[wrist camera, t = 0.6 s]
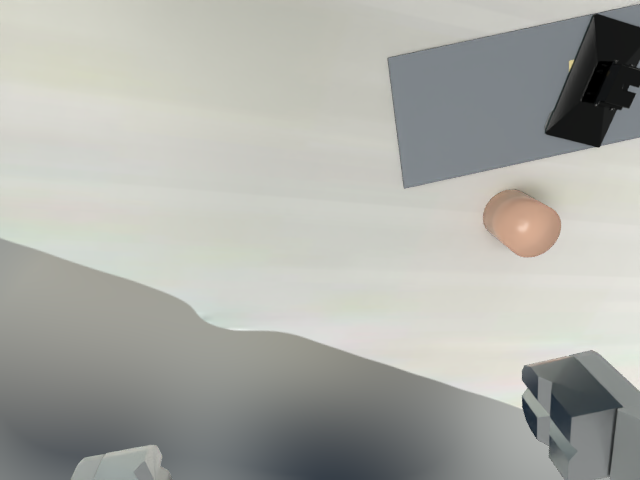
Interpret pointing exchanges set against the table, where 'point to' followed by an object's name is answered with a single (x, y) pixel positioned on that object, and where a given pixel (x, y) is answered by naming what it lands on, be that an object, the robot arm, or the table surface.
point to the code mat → (492, 100)
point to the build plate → (597, 82)
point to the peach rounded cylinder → (522, 223)
